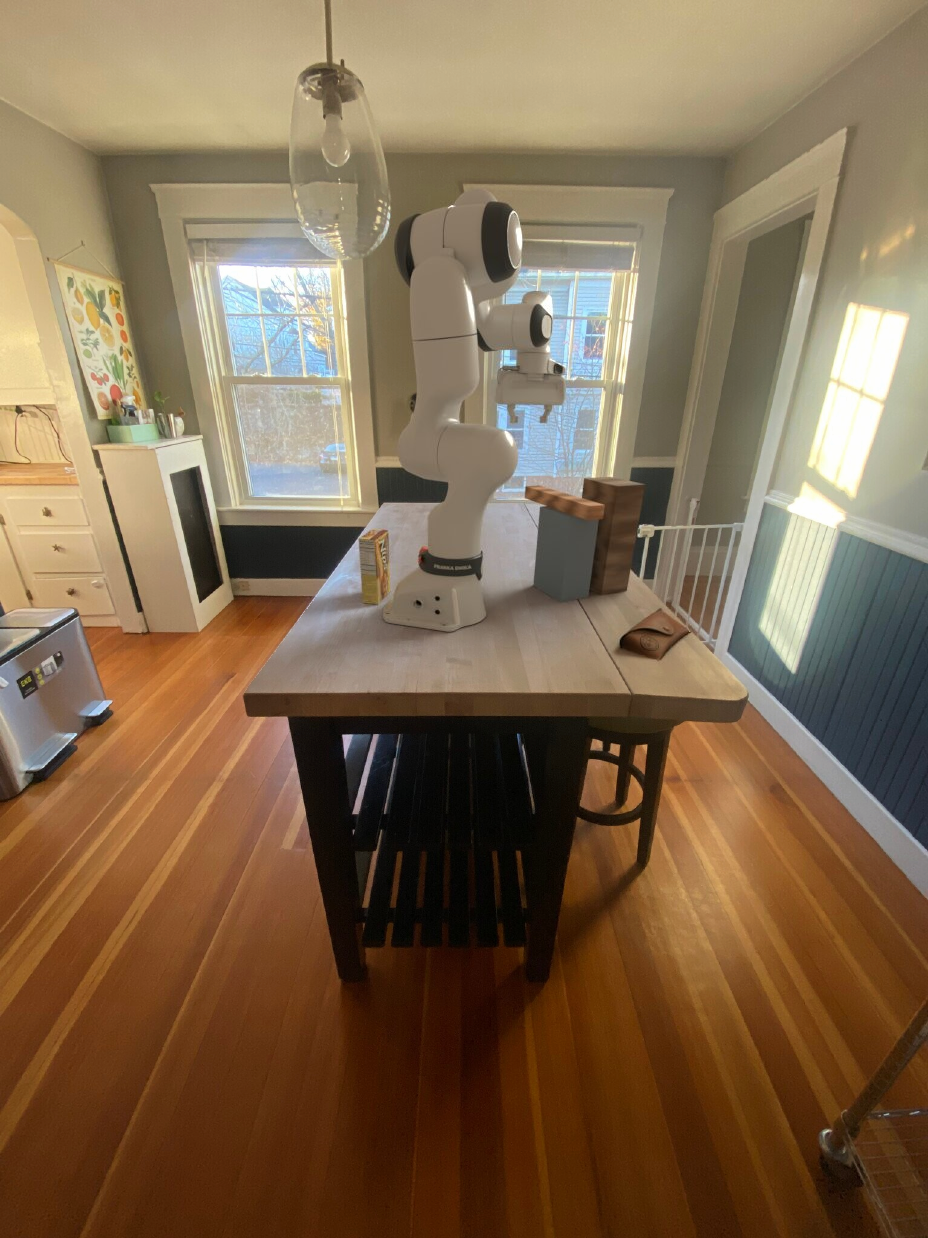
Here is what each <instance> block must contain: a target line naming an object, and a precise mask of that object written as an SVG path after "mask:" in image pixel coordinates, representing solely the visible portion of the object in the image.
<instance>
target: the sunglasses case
mask: <svg viewBox="0 0 928 1238" xmlns="http://www.w3.org/2000/svg"><path fill="white" fill-rule="evenodd" d="M688 629H689V628H688ZM688 629H687V627H686V626H685V625H683V624H682V623H680V622H679V621H678V620H677V619H674V618H673V617H672V616H670V615H669V614H667V612H665V611H664V610H663V609H662V607H659V608H658V609H657V610H656V611H655V612H653V613H651V614H649V615H647V616H646V617H645V618H643V619H642V620H641V621H639V622H638V623H636V624H635V625H634V626H633V627H632V628H631V627H630V629H629V630H628V631H627V632H626V633H624V634H623V635H622V636H621V637H620V639H619V641H618V645H619V647H620V649H621V650H625V651H627V652H631V653H634V654H637V655H639V656H640V655H641V656H643V657H646V658H648V659H652V660H656V661H658V662H659V661H662V660H663V657H664V656H665V655H666V653H667V652H668V651H669V650H670V649H672V647H674V645H676V644H677V643H678V642H679V641H680V640H682V638H684V637H685V636H687V635H689V634H690V633H691V632H689V630H690V629H689V630H688ZM688 633H689V634H688Z"/></svg>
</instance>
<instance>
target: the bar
mask: <svg viewBox="0 0 928 1238" xmlns="http://www.w3.org/2000/svg"><path fill="white" fill-rule="evenodd" d="M524 489H525V490H524V499H526V500H529V501H531V502H535V503H537V504H540V505H543V506H548V507H551V508H554V509H557V510H560V511H562V512H565V513H568V514H571V515H574V516H577V517H580V518H582V519H585V520H598V519H603V515H604V508H605V505H603V504H600V503H596V502H593V501H590V500H586V499H583V498H582V497H579V496H576V495H573V494H569V493H566V492H563V491H559V490H555V489H551V488H549V487H545V486H542V485H525V488H524Z"/></svg>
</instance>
